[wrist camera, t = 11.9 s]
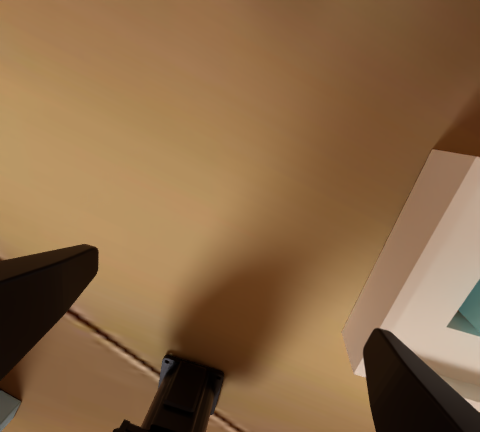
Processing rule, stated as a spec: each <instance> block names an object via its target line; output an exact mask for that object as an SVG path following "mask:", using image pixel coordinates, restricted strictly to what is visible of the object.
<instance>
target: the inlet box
mask: <svg viewBox="0 0 480 432" xmlns="http://www.w3.org/2000/svg"><path fill="white" fill-rule="evenodd" d="M479 279H480V157H476V156H470V155H465V154H459V153H453V152H447V151H441V150H435V149H432V150H431V152H430V154H429V156H428V158H427V160H426V162H425V165H424V167H423V169H422V171H421V173H420V175H419V177H418V179H417V181H416V183H415V185H414V187H413V189H412V191H411V193H410V195H409V197H408V199H407V201H406V203H405V205H404V207H403V209H402V211H401V213H400V215H399V217H398V219H397V221H396V223H395V225H394V227H393V229H392V231H391V233H390V235H389V237H388V239H387V241H386V243H385V245H384V247H383V249H382V251H381V253H380V255H379V257H378V259H377V261H376V263H375V265H374V267H373V269H372V271H371V273H370V276H369V278H368V280H367V282H366V284H365V286H364V288H363V290H362V292H361V294H360V296H359V298H358V300H357V302H356V304H355V306H354V308H353V310H352V312H351V314H350V316H349V318H348V320H347V322H346V324H345V326H344V328H343V330H342V336H343V339H344V342H345V346H346V349H347V353H348V356H349V360H350V363H351V367H352V370H353V373H354V374H356V375H359V376H362V377H366V373H365V366H364V359H363V348H364V345H365V343H366V342H367V340H368V338H369V336H370V334H371V333H372V331H373V330H374V329H375V328H381V329H384V330H388V331H390V332H392V333H393V334H394V335H395V336H396V337H397V338H398V339H399V340H401V341H402V342H403V343H404V344H405V345H406V346H407V347H408V348H409V349H410V350H412V351H413V352H414V353H415V354H416V355H417V356H418V357H419V358H420V359H421V360H422V361H424V362H425V363H426V364H427V365H428V366H429V367H430V368H431V369H432V370H433V371H435V372H436V373H437V374H438V375H439V376H440V377H441V378H442V379H443V380H444V381H446V382H447V383H448V384H449V385H450V386H451V387H452V388H453V389H454V390H455V391H456V392H458V393H459V394H460V395H461V396H462V397H463V398H464V399H465V400H466V401H467V402H469V403H470V404H471V405H472V406H473V407H474V408H475V409H476V410H477V411H479V412H480V333H479V331H478V330H477V329H476V328H475V327H474V326H473V325H472V324H471V323H470V322H469V321H468V320H467V319H466V318H465V317H464V316H463V315H462V314H461V313H459V312H457V311H458V309H459V308H460V306H461V305H462V304H463V302H464V301H465V299H466V298H467V296H468V295H469V293H470V292H471V291H472V289H473V288H474V286H475V285H476V283H477V282H478V280H479Z"/></svg>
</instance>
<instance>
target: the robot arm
mask: <svg viewBox="0 0 480 432" xmlns="http://www.w3.org/2000/svg"><path fill="white" fill-rule="evenodd" d="M98 254H99V252H98V249H97V248H96V247H94V246H91V245H87V244H82V245H77V246H72V247H67V248H62V249H57V250H52V251H47V252H43V253H38V254H33V255H28V256H23V257H18V258H13V259H8V260H3V261H0V381H1V380H2V379H3V378H4V377H5V376H6V374H7V373H8V372H9V371H10V370H11V369H12V368H13V367H14V366H15V365H16V364H17V363H18V362H19V361H20V360H21V359H22V358H23V357H24V356H25V355H26V354H27V353H28V352H29V351H30V350H31V349H32V348H33V347H34V346H35V344H36V343H37V342H38V341H39V340H40V339H41V338H42V337H43V336H44V335H45V334H46V333H47V332H48V331H49V330H50V329H51V328H52V327H53V326H54V325H55V324H56V323H57V322H58V321H59V320H60V318H61V317H62V316H63V315H64V314H65V313H66V312H67V311H68V309H69V308H70V307H71V306H72V304H73V303H74V302H75V301H76V299H77V298H78V297H79V296H80V294H81V293H82V292H83V291H84V289H85V288H86V287H87V286H88V284H89V283H90V282H91V281H92V279H93V278H94V277H95V276H96V274H97V271H98ZM363 359H364V366H365V373H366V380H367V388H368V395H369V401H370V407H371V412H372V417H373V421H374V425H375V429H376V432H480V412H478V411H477V410H476V409H475V408H474V407H473V406H472V405H471V404H470V403H469V402H467V401H466V400H465V399H464V398H463V397H462V396H461V395H460V394H459V393H458V392H456V391H455V390H454V389H453V388H452V387H451V386H450V385H449V384H448V383H447V382H446V381H444V380H443V379H442V378H441V377H440V376H439V375H438V374H437V373H436V372H435V371H433V370H432V369H431V368H430V367H429V366H428V365H427V364H426V363H425V362H424V361H422V360H421V359H420V358H419V357H418V356H417V355H416V354H415V353H414V352H413V351H412V350H410V349H409V348H408V347H407V346H406V345H405V344H404V343H403V342H402V341H401V340H399V339H398V338H397V337H396V336H395V335H394V334H393V333H392V332H390V331H388V330H384V329H381V328H375V329H374V330H373V331H372V333H371V334H370V336H369V338H368V340H367V342H366V343H365V345H364V348H363ZM223 379H224V373H223V372H222V371H219V370H216V369H213V368H209V367H206V366H203V365H200V364H196V363H193V362H190V361H187V360H184V359H180V358H177V357H174V356H171V355H165V356H164V358H163V360H162V367H161V373H160V380H159V386H158V391H157V393H156V395H155V397H154V400H153V402H152V404H151V406H150V408H149V410H148V413H147V415H146V417H145V419H144V421H143V423H142V426H141V427H139V426H136V425H134V424H131V423H130V421H128V420H125V419H124V421H123V423H122V424H121V426H120V428H117V429H114V430H113V432H206V429H207V425H208V421H209V417H210V415H212V414H213V413H214V410H215V407H216V403H217V400H218V396H219V393H220V389H221V386H222V383H223Z"/></svg>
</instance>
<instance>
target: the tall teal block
mask: <svg viewBox="0 0 480 432" xmlns="http://www.w3.org/2000/svg"><path fill="white" fill-rule="evenodd" d="M458 310H459V312H460V313H461V314H462V315H463V316H464V317H465V318H466V319H467V320H468V321H469V322H470V323H471V324H472V325H473V326H474V327H475V328H476V329H477V330H478V331H479V333H480V279H479V280H478V282H477V283H476V285H475V286H474V288H473V289H472V291H471V292H470V293H469V295H468V296H467V298H466V299H465V301H464V302H463V304H462V305H461V306H460V308H459V309H458Z"/></svg>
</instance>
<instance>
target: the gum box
mask: <svg viewBox="0 0 480 432" xmlns="http://www.w3.org/2000/svg"><path fill="white" fill-rule="evenodd" d="M20 404H21V401H19V400H18V399H16V398H14V397H12V396H11V395H9V394H7V393H5V392H4V391H2V390H0V432H1V431H2V430H3V429H4V428H5V426H6V425H7V424H8V423H9V422H10V421H11V420H12V419H13V418H14V415H15V413H16V411H17V409H18V408H19V406H20Z"/></svg>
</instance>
